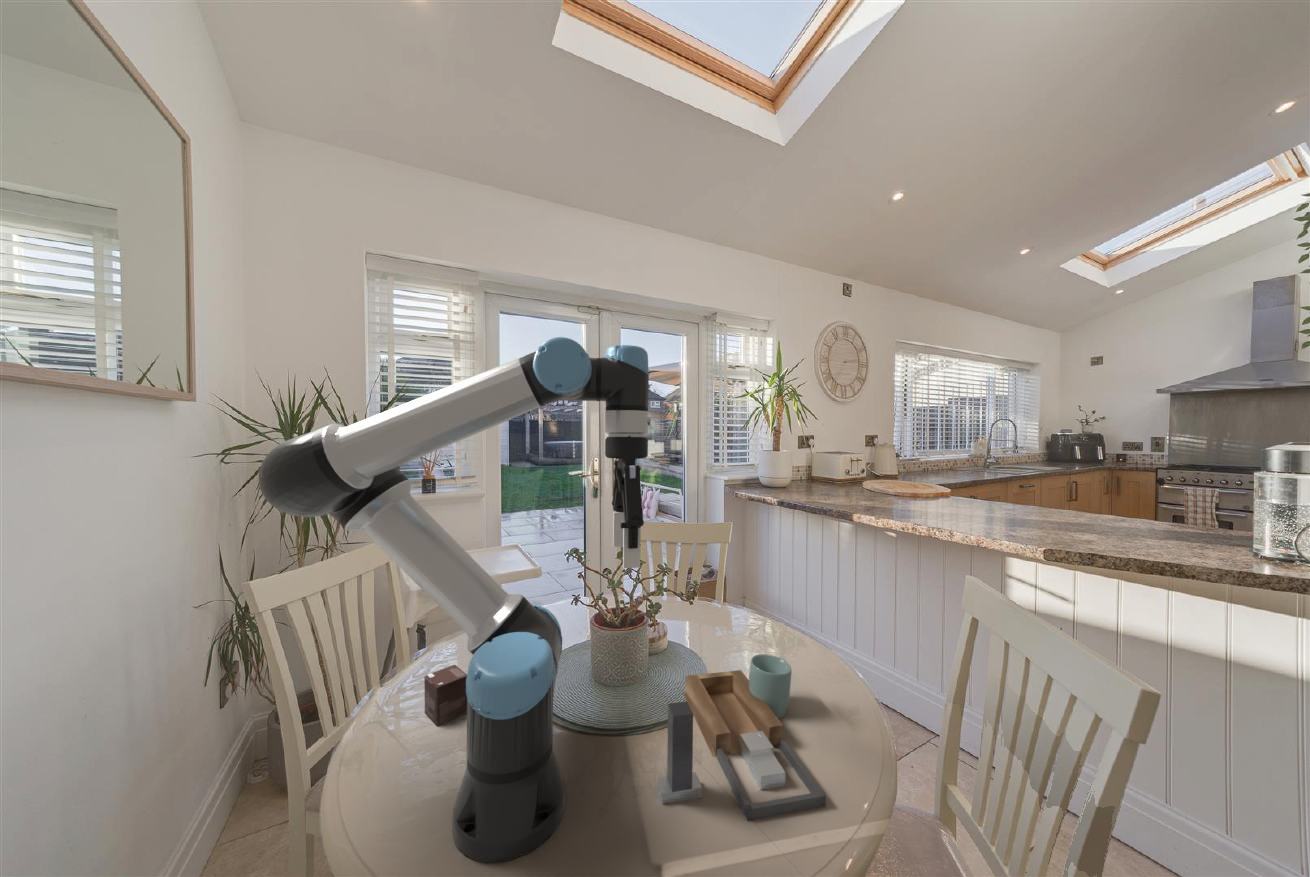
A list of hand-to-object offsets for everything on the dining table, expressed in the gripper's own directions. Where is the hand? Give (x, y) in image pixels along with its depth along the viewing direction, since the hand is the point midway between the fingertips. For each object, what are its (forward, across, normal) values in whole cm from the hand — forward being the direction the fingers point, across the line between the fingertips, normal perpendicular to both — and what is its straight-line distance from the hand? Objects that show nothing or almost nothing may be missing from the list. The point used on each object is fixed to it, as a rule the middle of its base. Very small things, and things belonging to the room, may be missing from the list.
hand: (625, 556), depth 79 cm
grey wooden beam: (+33, -15, -6) cm, 36 cm away
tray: (+33, -16, -20) cm, 41 cm away
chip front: (+32, -15, -20) cm, 41 cm away
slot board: (+33, 0, -20) cm, 38 cm away
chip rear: (+31, -11, -20) cm, 39 cm away
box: (+33, +14, +33) cm, 48 cm away
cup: (+33, +1, -28) cm, 43 cm away
